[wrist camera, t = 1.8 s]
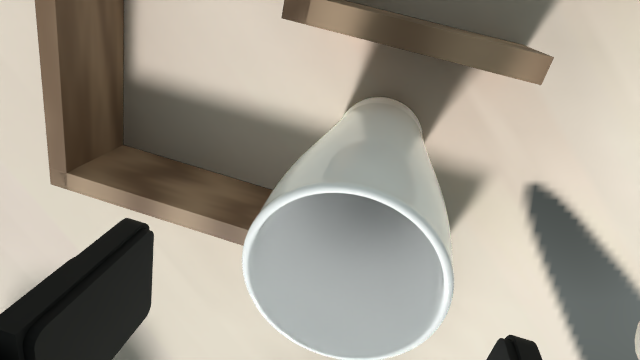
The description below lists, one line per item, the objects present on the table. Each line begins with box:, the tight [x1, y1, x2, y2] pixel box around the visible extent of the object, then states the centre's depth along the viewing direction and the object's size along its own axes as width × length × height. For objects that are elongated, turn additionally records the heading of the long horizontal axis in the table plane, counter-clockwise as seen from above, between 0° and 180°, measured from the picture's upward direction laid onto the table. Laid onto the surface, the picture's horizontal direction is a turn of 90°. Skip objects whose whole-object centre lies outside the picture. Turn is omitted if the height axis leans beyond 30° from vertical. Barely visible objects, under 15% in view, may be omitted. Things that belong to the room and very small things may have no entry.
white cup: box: [242, 97, 454, 360], centre depth 19 cm, size 7×7×15 cm
